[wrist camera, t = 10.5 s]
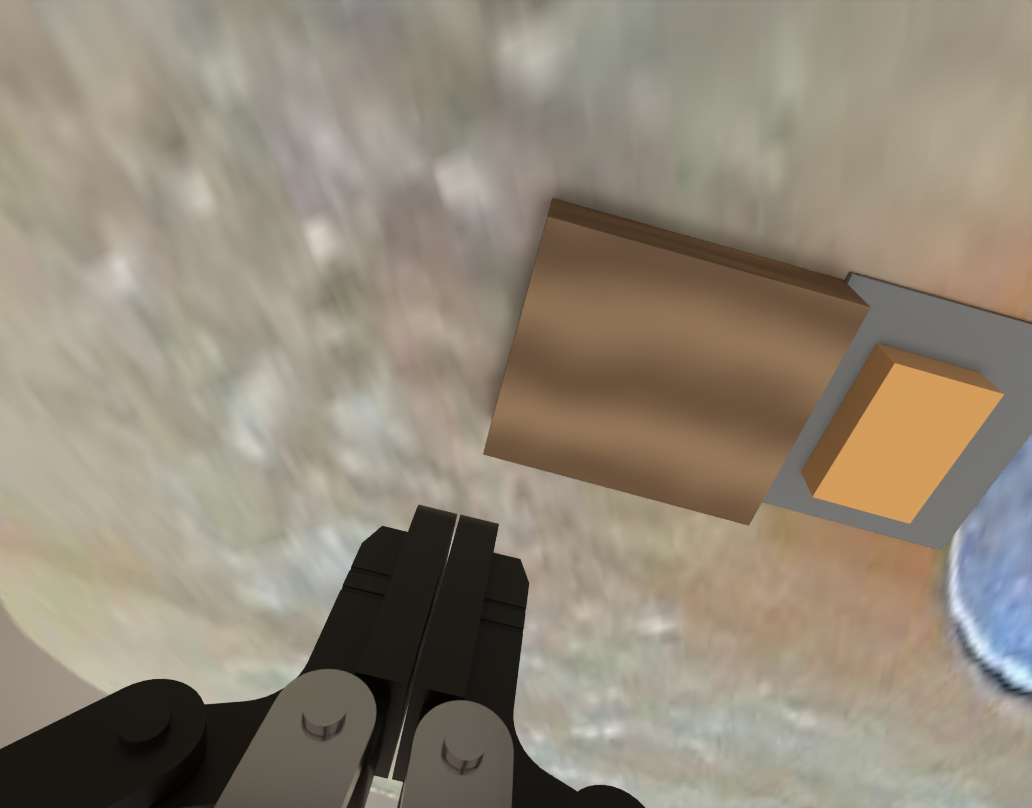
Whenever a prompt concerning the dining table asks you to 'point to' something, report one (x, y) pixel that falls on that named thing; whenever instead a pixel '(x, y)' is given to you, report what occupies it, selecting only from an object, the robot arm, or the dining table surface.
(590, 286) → the wooden block
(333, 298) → the dining table surface
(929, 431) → the orange rectangular block
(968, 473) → the mat
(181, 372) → the dining table surface
